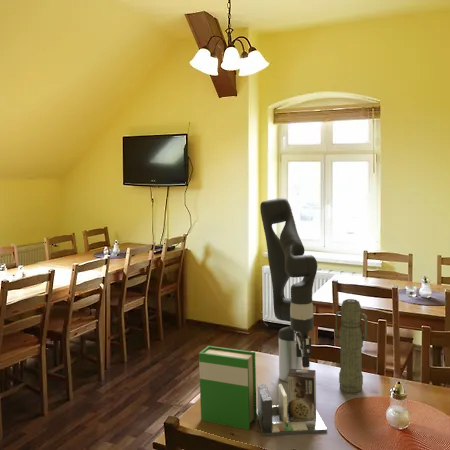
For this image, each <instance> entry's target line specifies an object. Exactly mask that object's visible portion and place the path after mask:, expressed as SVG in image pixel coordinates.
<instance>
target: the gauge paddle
mask: <svg viewBox="0 0 450 450" xmlns="http://www.w3.org/2000/svg"><path fill="white" fill-rule="evenodd" d="M277 386H278V387H277V389H278V390H277V393H278V405H279V414H280V417H281V419H282V421H286V427H288V420H287V405H288V394H287V393H286V391H285V388H284V387H283V384H282V383H279V384H277Z"/></svg>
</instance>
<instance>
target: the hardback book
mask: <svg viewBox="0 0 450 450" xmlns="http://www.w3.org/2000/svg"><path fill="white" fill-rule="evenodd" d="M198 363H199V364H198V365H199V367H198V369H199V370H198V371H199V396H200V421H203V422H204V421H205V422H209V423H213V424H218V425H224V426H227V427H234V428H239V429H243V430H250V429H251V423H252V422H253V421H257V420H258V417H257V413H256V409H257V377H256V375H257V373H256V367H257V366H256V351H253V350H251V351H250V350H245V349H244V350H243V349H238V348H237V349H235V348H228V347H221V346H213V345H207V346H206V347H205V348H204V349H202V350H201V351H199V353H198Z"/></svg>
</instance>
